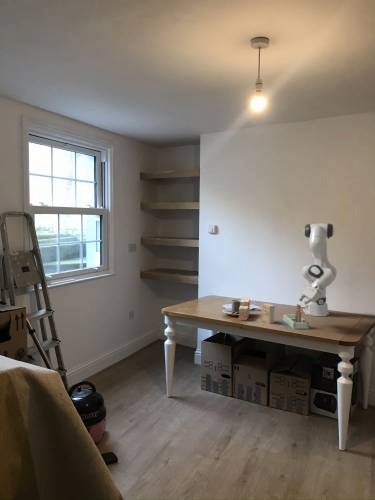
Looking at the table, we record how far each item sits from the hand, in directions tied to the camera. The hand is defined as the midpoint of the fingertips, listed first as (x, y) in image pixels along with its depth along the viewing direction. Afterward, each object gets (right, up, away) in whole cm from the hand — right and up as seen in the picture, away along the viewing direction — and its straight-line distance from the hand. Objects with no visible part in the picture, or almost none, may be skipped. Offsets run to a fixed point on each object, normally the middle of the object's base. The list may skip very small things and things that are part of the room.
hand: (302, 302), depth 265 cm
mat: (-3, -17, +6) cm, 18 cm away
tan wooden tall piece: (-3, -16, +1) cm, 16 cm away
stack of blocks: (-36, -15, +26) cm, 47 cm away
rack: (-3, -16, +6) cm, 18 cm away
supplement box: (-22, -16, +11) cm, 29 cm away
